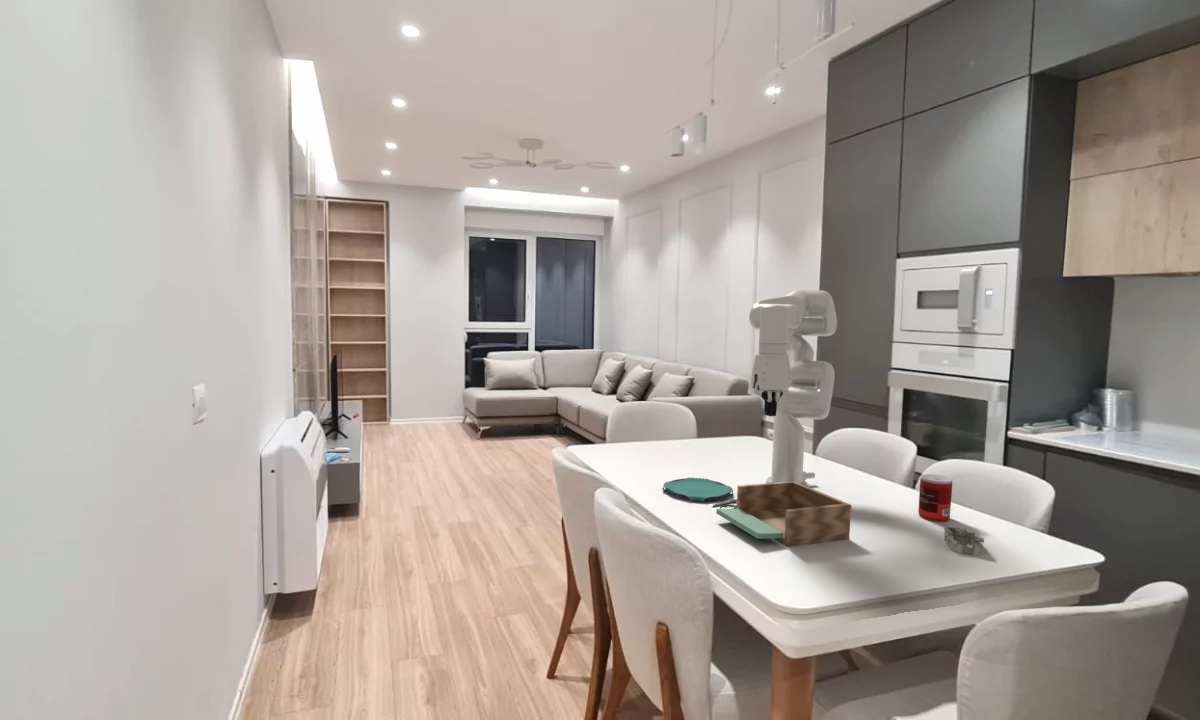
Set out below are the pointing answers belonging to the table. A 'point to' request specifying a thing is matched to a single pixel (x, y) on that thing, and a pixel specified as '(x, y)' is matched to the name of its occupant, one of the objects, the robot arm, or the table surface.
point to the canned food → (935, 497)
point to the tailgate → (749, 523)
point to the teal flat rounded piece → (700, 490)
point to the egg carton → (963, 540)
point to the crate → (796, 512)
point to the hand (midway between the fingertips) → (770, 415)
